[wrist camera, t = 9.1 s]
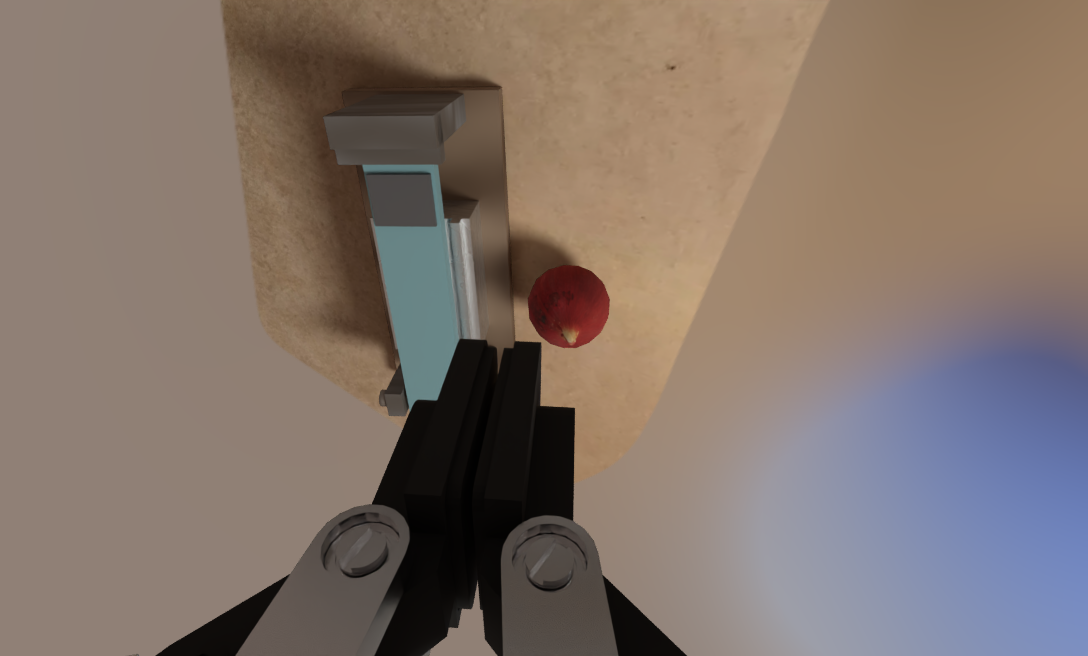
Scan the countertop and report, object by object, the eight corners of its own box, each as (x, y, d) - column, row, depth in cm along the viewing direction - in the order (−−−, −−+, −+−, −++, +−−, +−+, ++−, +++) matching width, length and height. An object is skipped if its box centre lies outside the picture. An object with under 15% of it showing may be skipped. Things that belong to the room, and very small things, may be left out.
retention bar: (368, 159, 30) (360, 165, 29) (437, 159, 30) (431, 165, 29) (413, 404, 39) (409, 416, 38) (466, 406, 39) (463, 417, 38)
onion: (522, 300, 42) (510, 357, 35) (548, 237, 39) (541, 285, 32) (589, 325, 43) (590, 385, 36) (619, 264, 40) (627, 317, 33)
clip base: (350, 88, 34) (279, 112, 26) (501, 86, 34) (476, 111, 26) (404, 372, 46) (367, 449, 38) (517, 375, 46) (503, 454, 38)
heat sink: (388, 200, 37) (365, 222, 33) (479, 200, 36) (466, 223, 32) (409, 323, 42) (392, 355, 38) (489, 324, 41) (479, 357, 38)
